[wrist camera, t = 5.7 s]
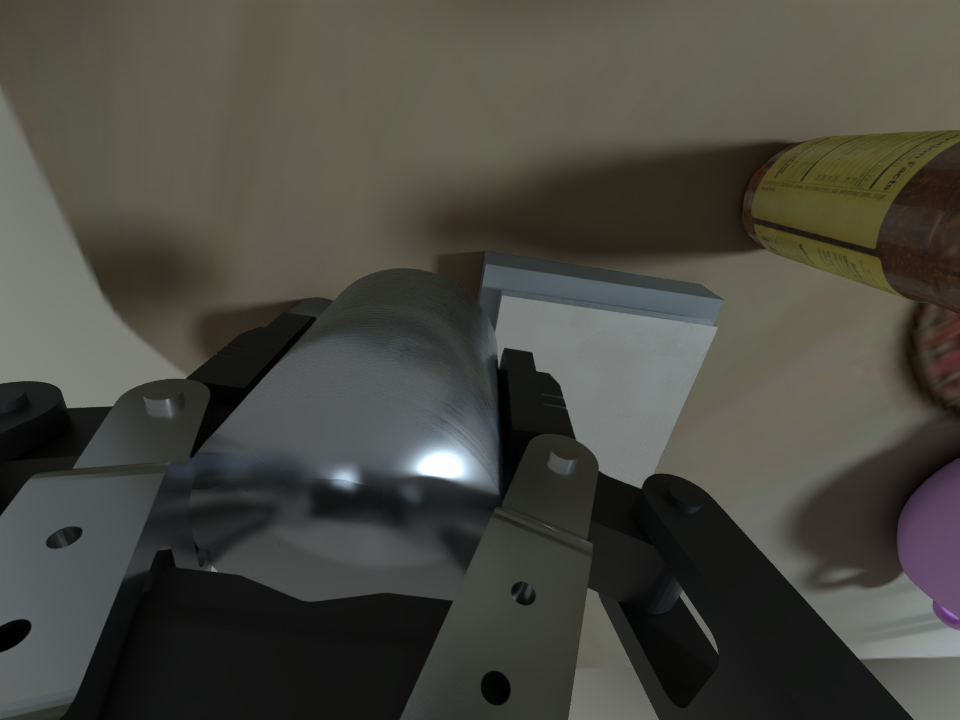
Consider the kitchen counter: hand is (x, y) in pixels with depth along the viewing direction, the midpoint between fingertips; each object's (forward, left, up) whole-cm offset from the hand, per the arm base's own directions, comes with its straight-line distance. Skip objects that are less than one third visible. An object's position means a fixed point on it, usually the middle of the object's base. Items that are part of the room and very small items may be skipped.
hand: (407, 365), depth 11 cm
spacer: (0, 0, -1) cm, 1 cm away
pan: (-9, +8, -13) cm, 18 cm away
